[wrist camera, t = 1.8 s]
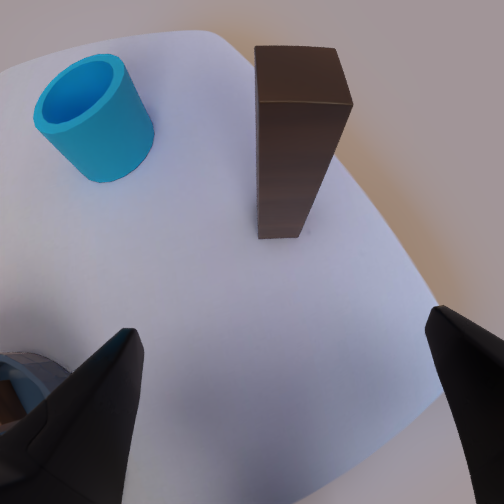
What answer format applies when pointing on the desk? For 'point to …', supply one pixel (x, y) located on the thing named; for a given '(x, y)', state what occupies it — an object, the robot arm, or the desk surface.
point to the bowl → (31, 376)
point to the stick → (295, 131)
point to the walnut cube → (9, 406)
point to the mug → (96, 118)
